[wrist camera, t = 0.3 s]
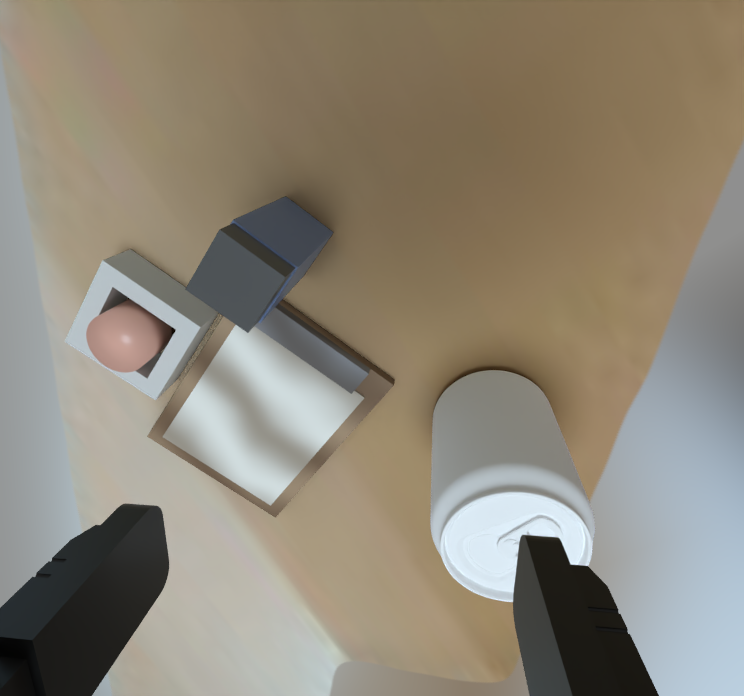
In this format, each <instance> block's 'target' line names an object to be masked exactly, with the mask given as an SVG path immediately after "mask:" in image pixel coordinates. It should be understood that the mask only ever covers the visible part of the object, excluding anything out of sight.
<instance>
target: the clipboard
mask: <svg viewBox="0 0 744 696" xmlns="http://www.w3.org/2000/svg"><path fill="white" fill-rule="evenodd" d="M393 385H394V379H393V378H391V377H390V376H389V375H387V374H386V373H384V372H383V371H382V370H380V369H379V368H377V367H376V366H375V365H373V364H372V363H370V362H369V361H368V360H366V359H365V358H363V357H362V356H361V355H359V354H358V353H356V352H355V351H354V350H352V349H351V348H349V347H348V346H347V345H345V344H344V343H342V342H341V341H340V340H338V339H337V338H335V337H334V336H333V335H331V334H330V333H328V332H327V331H326V330H324V329H323V328H321V327H320V326H319V325H317V324H316V323H315V322H313V321H312V320H310V319H309V318H308V317H306V316H305V315H303V314H302V313H301V312H299V311H298V310H296V309H295V308H294V307H292V306H291V305H289V304H288V303H287V302H285V301H284V300H281V301H280V302H279V303H278V305H277V306H276V307H275V308H274V309H273V310H272V311H271V312H270V313H269V314H268V315H267V317H266V318H265V319H264V320H263V321H262V322H261V323H259V322H258V323H257V324H256V325H255V326H254V327H253V328H252V329H251V330H250V332H249V333H247V332H246V331H244V330H243V329H241V328H240V327H238V326H237V325H236V324H234V323H233V322H231V321H230V320H228V319H227V318H225V317H224V316H223V318H222V319H221V321H220V322H219V324H218V326H217V327H216V329H215V330H214V332H213V333H212V335H211V337H210V338H209V340H208V341H207V343H206V345H205V346H204V348H203V349H202V351H201V352H200V354H199V356H198V357H197V359H196V360H195V362H194V363H193V365H192V367H191V368H190V370H189V371H188V373H187V375H186V376H185V378H184V379H183V381H182V382H181V384H180V386H179V387H178V389H177V390H176V392H175V393H174V395H173V397H172V398H171V400H170V401H169V403H168V405H167V406H166V408H165V409H164V411H163V412H162V414H161V416H160V417H159V419H158V420H157V422H156V424H155V425H154V427H153V428H152V430H151V431H150V433H149V435H148V436H147V437H149V438H150V439H152V440H154V441H155V442H157V443H158V444H160V445H162V446H163V447H165V448H166V449H168V450H169V451H171V452H173V453H174V454H176V455H177V456H179V457H181V458H182V459H184V460H185V461H187V462H188V463H190V464H192V465H193V466H195V467H196V468H198V469H200V470H201V471H203V472H204V473H206V474H207V475H209V476H211V477H212V478H214V479H215V480H217V481H219V482H220V483H222V484H223V485H225V486H226V487H228V488H230V489H231V490H233V491H234V492H236V493H237V494H239V495H241V496H242V497H244V498H245V499H247V500H249V501H250V502H252V503H253V504H255V505H256V506H258V507H260V508H261V509H263V510H264V511H266V512H268V513H269V514H271V515H272V516H274V517H276V516H277V515H278V514H279V513H280V512H281V511H282V510H283V508H284V507H285V506H286V505H287V504H288V503H289V502H290V501H291V499H292V498H293V497H294V496H295V495H296V494H297V493H298V492H299V491H300V489H301V488H302V487H303V486H304V485H305V484H306V483H307V482H308V480H309V479H310V478H311V477H312V476H313V475H314V474H315V473H316V472H317V470H318V469H319V468H320V467H321V466H322V465H323V464H324V463H325V461H326V460H327V459H328V458H329V457H330V456H331V455H332V454H333V453H334V451H335V450H336V449H337V448H338V447H339V446H340V445H341V444H342V442H343V441H344V440H345V439H346V438H347V437H348V436H349V435H350V434H351V432H352V431H353V430H354V429H355V428H356V427H357V426H358V425H359V423H360V422H361V421H362V420H363V419H364V418H365V417H366V416H367V415H368V413H369V412H370V411H371V410H372V409H373V408H374V407H375V406H376V404H377V403H378V402H379V401H380V400H381V399H382V398H383V397H384V396H385V394H386V393H387V392H388V391H389V390H390V389H391V388H392V387H393Z"/></svg>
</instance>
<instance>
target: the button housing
mask: <svg viewBox="0 0 744 696" xmlns="http://www.w3.org/2000/svg"><path fill="white" fill-rule="evenodd" d="M185 289H186V287H184V286H183V285H182V284H180V283H179V282H177V281H176V280H174V279H173V278H171V277H170V276H169V275H167V274H166V273H164V272H163V271H161V270H160V269H159V268H157V267H156V266H154V265H153V264H151V263H150V262H148V261H147V260H146V259H144V258H143V257H141V256H140V255H138V254H137V253H136V252H134V251H133V250H131V249H130V250H127V251H125V252H122V253H120V254H117V255H115V256H112V257H110V258H107V259H105V260H103V261H102V263H101V265H100V267H99V269H98V271H97V273H96V276H95V278H94V280H93V282H92V284H91V286H90V288H89V291H88V293H87V295H86V297H85V299H84V301H83V303H82V306H81V308H80V310H79V312H78V314H77V316H76V318H75V321H74V323H73V325H72V327H71V329H70V331H69V333H68V335H67V338H66V340H65V342H66V343H68V344H69V345H71V346H72V347H74V348H75V349H77V350H78V351H80V352H81V353H83V354H85V355H86V356H88V357H89V358H91V359H92V360H94V361H95V362H97V363H98V364H100V365H102V366H103V367H105V368H106V369H108V370H109V371H111V372H112V373H114V374H115V375H117V376H119V377H120V378H122V379H123V380H125V381H126V382H128V383H129V384H131V385H132V386H134V387H136V388H137V389H139V390H140V391H142V392H143V393H145V394H146V395H148V396H149V397H151V398H153V399H154V400H157V399H158V398H159V397H160V396H161V395H162V394H163V393H164V392H165V391H166V390H167V389H168V388H169V387H170V386H171V385H172V384H173V383H174V382H175V381H176V380H177V379H178V377H179V376H180V374H181V372H182V371H183V369H184V368H185V366H186V364H187V363H188V361H189V360H190V358H191V356H192V355H193V353H194V352H195V350H196V348H197V347H198V345H199V344H200V342H201V340H202V339H203V337H204V336H205V334H206V332H207V331H208V329H209V328H210V326H211V324H212V323H213V321H214V320H215V318H216V316H217V315H218V312H217V311H215V310H214V309H212V308H211V307H210V306H208V305H207V304H205V303H204V302H202V301H201V300H200V299H198V298H197V297H195V296H194V295H192V294H191V293H189V292H188V291H187V290H185ZM127 297H128V298H130V299H131V300H133V301H134V302H136V303H137V304H139V305H140V306H142V307H143V308H145V309H146V310H148V311H149V312H150V313H152V314H153V315H155V316H156V317H158V318H159V319H161V320H162V321H164V322H165V323H167V324H168V325H170V326H171V327H173V328H174V329H176V331H175V333H174V334H173V336H172V338H171V339H170V341H169V343H168V345H167V346H166V348H165V350H164V351H163V353H162V354H160V353H158V354H157V355H156V356H154V357H153V358H152V359H151V360H149V361H148V362H147V363H146V364H144V365H143V366H142V367H141V368H139V369H138V370H136V371H133V372H126V373H124V372H118V371H114V370H112V369H109V368H108V367H106V366H104V365H103V364H102V363H100V362H99V361H98V360H97V359H96V358H95V356H94V355H93V354H92V352H91V350H90V348H89V346H88V343H87V339H86V331H87V327H88V325H89V323H90V322H91V321H92V320H93V319H94V318H95V317H97V316H99V315H100V314H102V313H104V312H106V311H108V310H110V309H111V308H113V307H115V306H117V305H119V304H120V303H122V302H124V301H126V299H127Z"/></svg>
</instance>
